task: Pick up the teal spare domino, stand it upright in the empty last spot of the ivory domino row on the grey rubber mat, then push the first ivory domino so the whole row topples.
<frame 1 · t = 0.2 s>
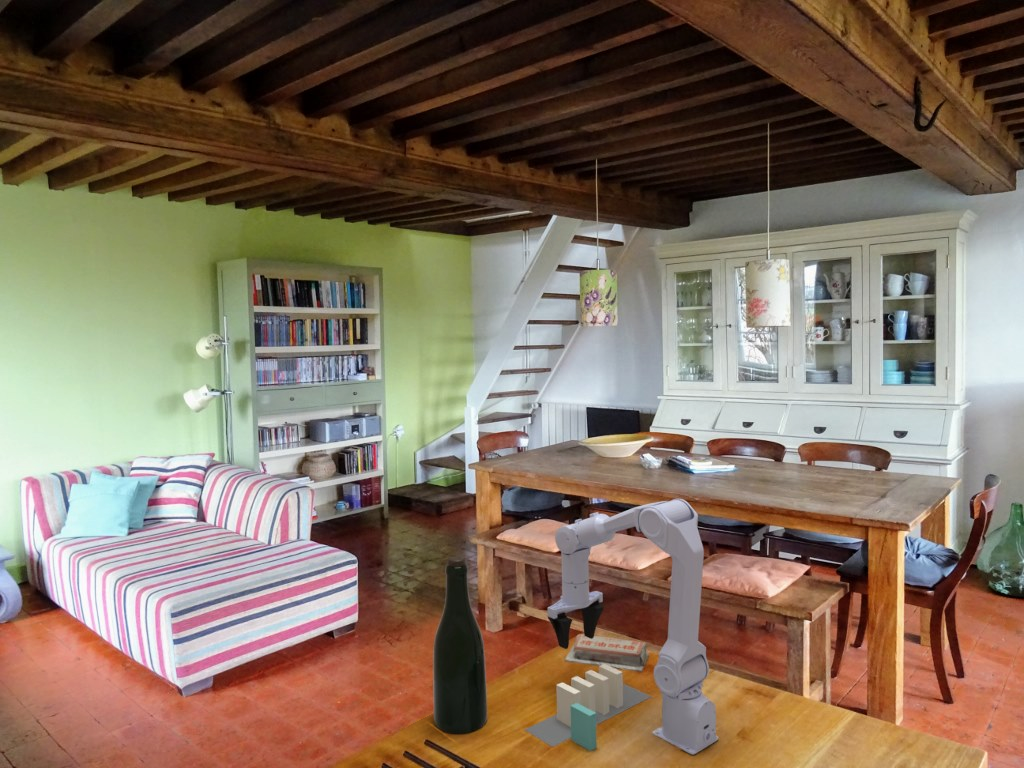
hand: (576, 642, 159), 10 cm above the table, tool pointing down, fingers open, 7 cm apart
spare domino: (583, 745, 137), on the table
domino 4: (568, 723, 144), resting on mat
domino 2: (597, 708, 149), resting on mat
mat: (590, 714, 148), on the table
packaged product: (607, 661, 173), on the table
beer bottle: (460, 723, 146), on the table
domino 3: (583, 715, 147), resting on mat
domino 1: (611, 702, 152), resting on mat
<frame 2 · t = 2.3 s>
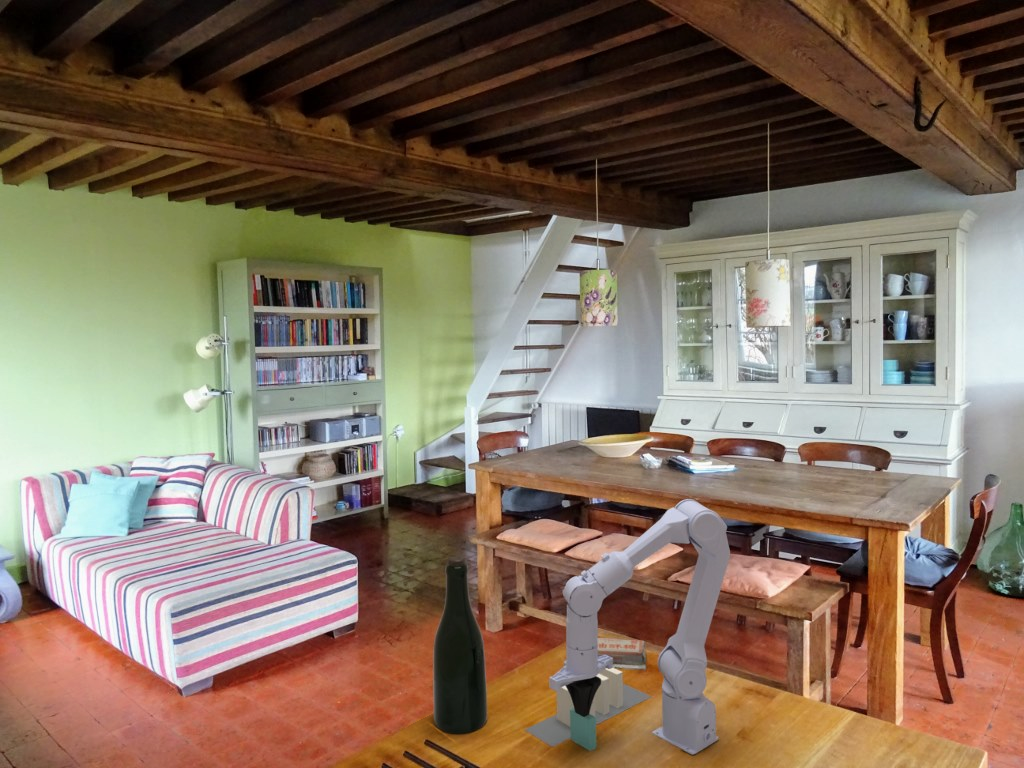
hand: (582, 716, 136), 6 cm above the table, tool pointing down, fingers closed, pressing on spare domino
spare domino: (583, 749, 137), on the table, touching gripper
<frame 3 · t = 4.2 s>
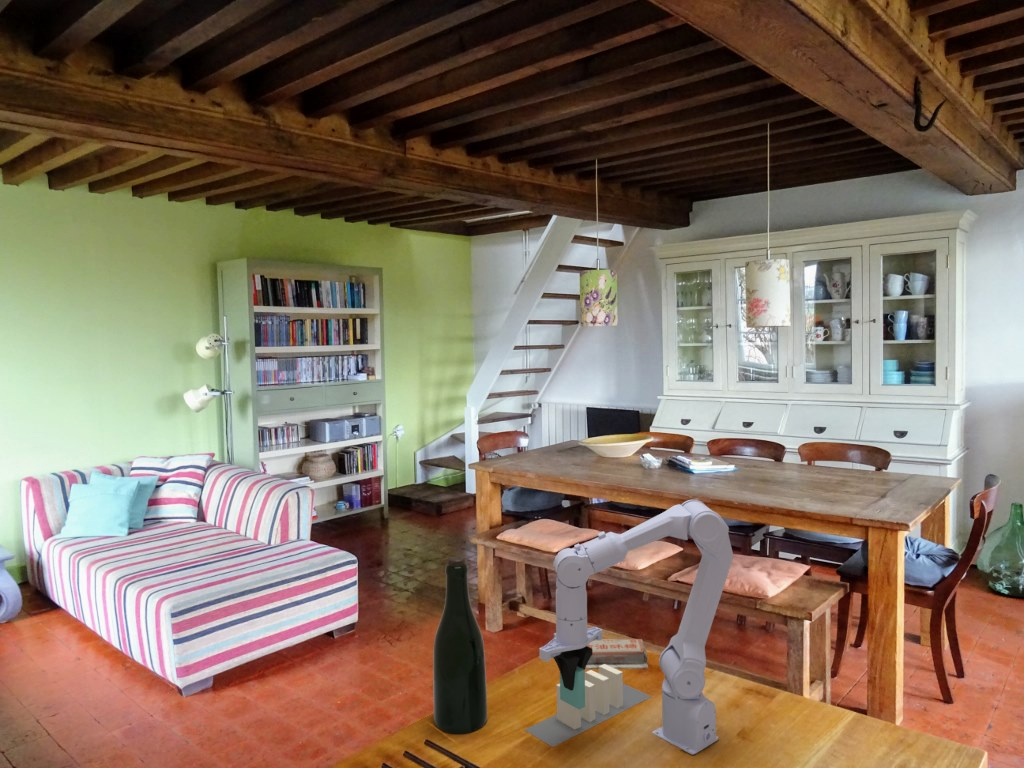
hand: (572, 686, 138), 10 cm above the table, tool pointing down, fingers closed on spare domino
spare domino: (572, 702, 138), point 7 cm above the table, touching gripper
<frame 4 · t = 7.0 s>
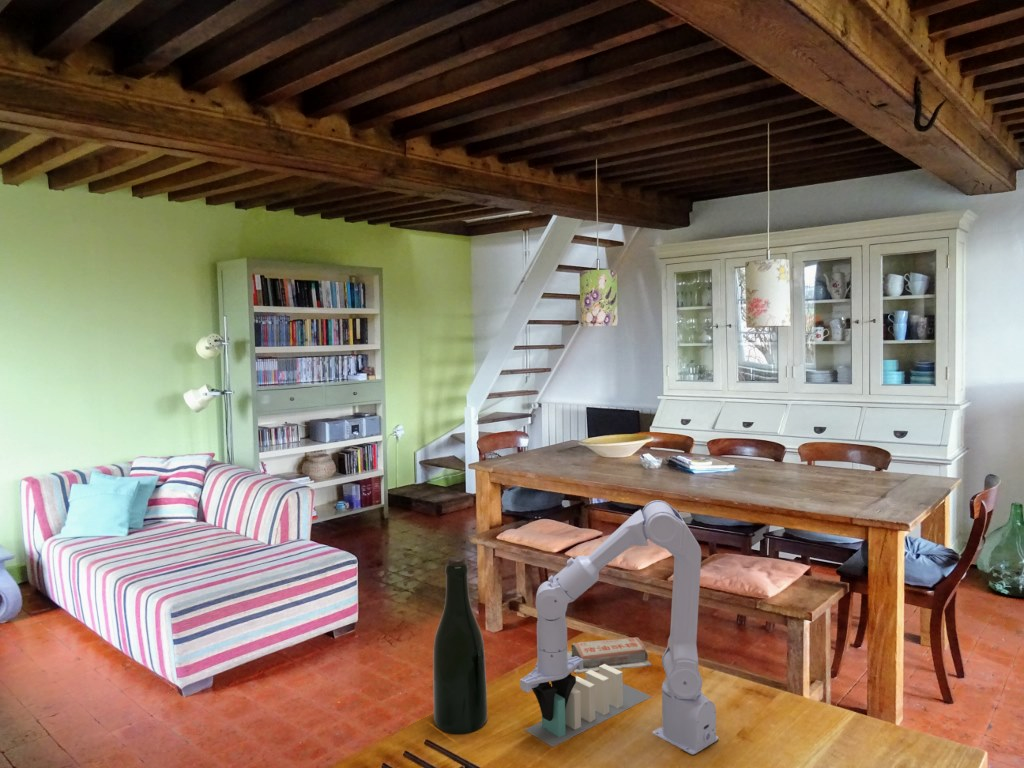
hand: (553, 715, 141), 3 cm above the table, tool pointing down, fingers open, 3 cm apart
spare domino: (553, 730, 142), resting on mat
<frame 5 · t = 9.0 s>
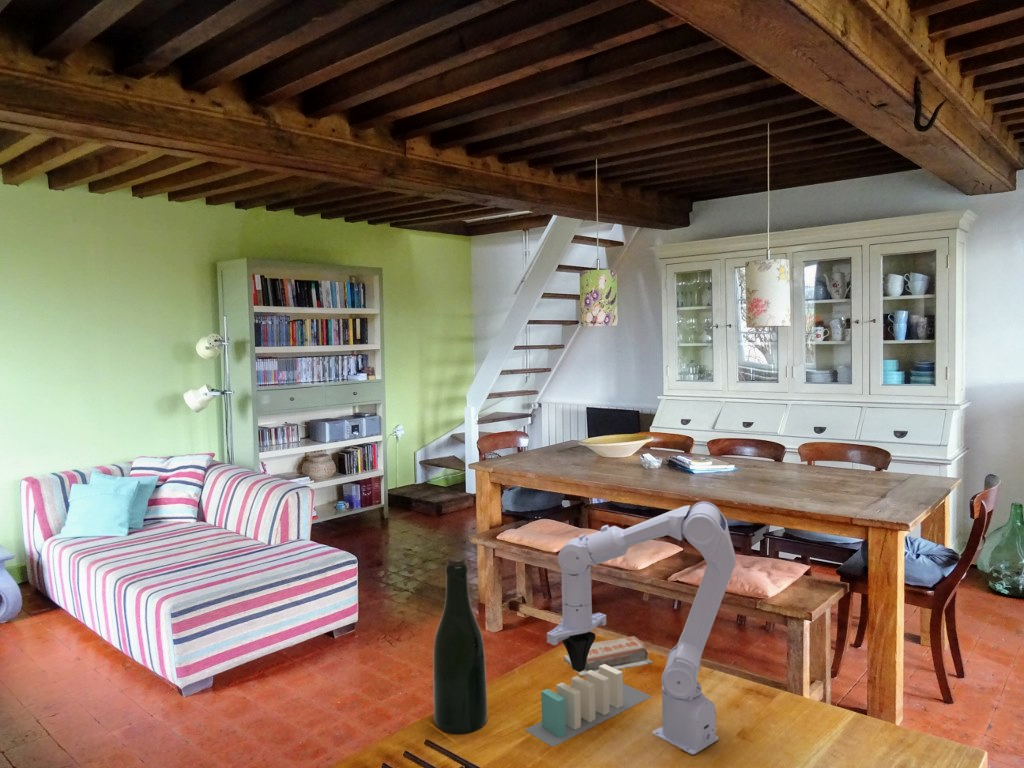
hand: (578, 669, 145), 10 cm above the table, tool pointing down, fingers closed
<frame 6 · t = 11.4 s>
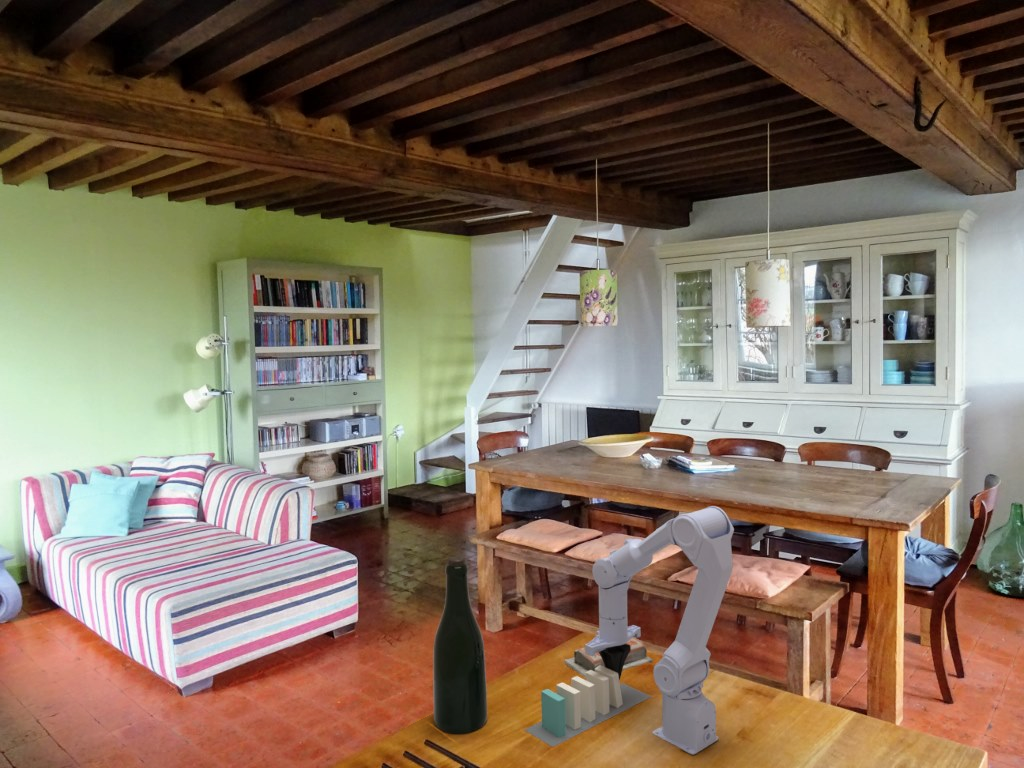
hand: (614, 679, 152), 5 cm above the table, tool pointing down, fingers closed
domino 1: (611, 701, 152), point 1 cm above the table, tilted 11°, touching mat
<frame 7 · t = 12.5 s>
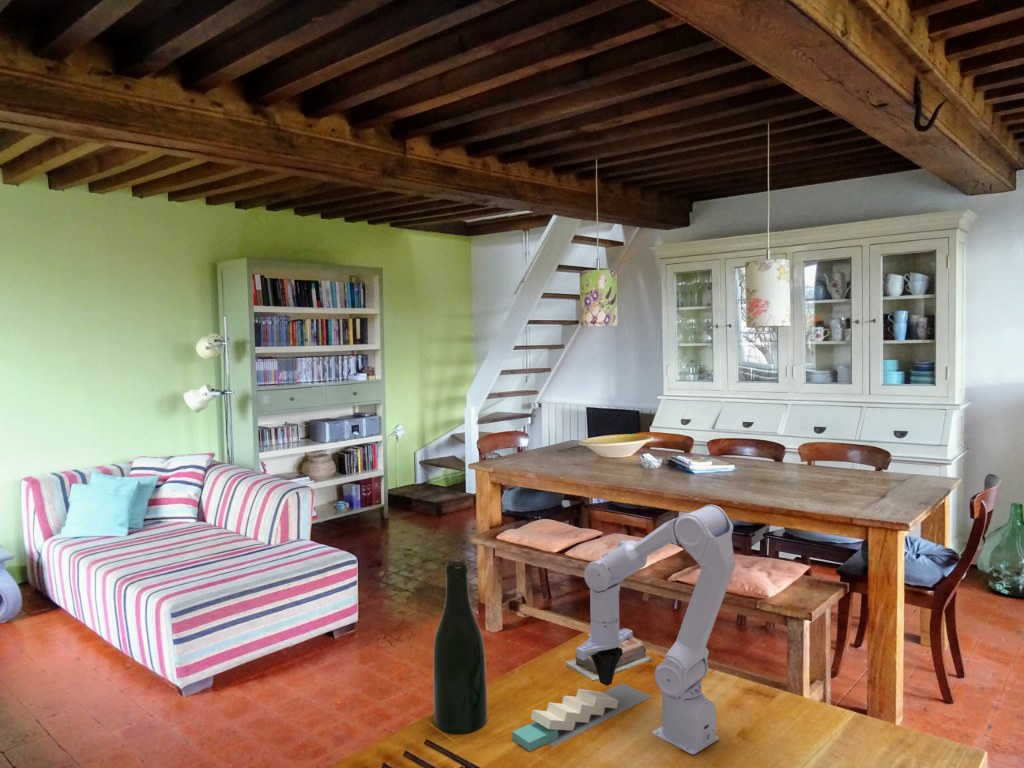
hand: (605, 683, 151), 5 cm above the table, tool pointing down, fingers closed
spare domino: (549, 728, 141), point 1 cm above the table, tilted 90°, touching domino 4, mat
domino 4: (565, 721, 143), point 1 cm above the table, tilted 67°, touching domino 3, mat, spare domino
domino 2: (594, 706, 149), point 1 cm above the table, tilted 67°, touching domino 1, domino 3, mat
domino 3: (580, 713, 146), point 1 cm above the table, tilted 67°, touching domino 2, domino 4, mat
domino 1: (608, 700, 151), point 1 cm above the table, tilted 66°, touching domino 2, mat
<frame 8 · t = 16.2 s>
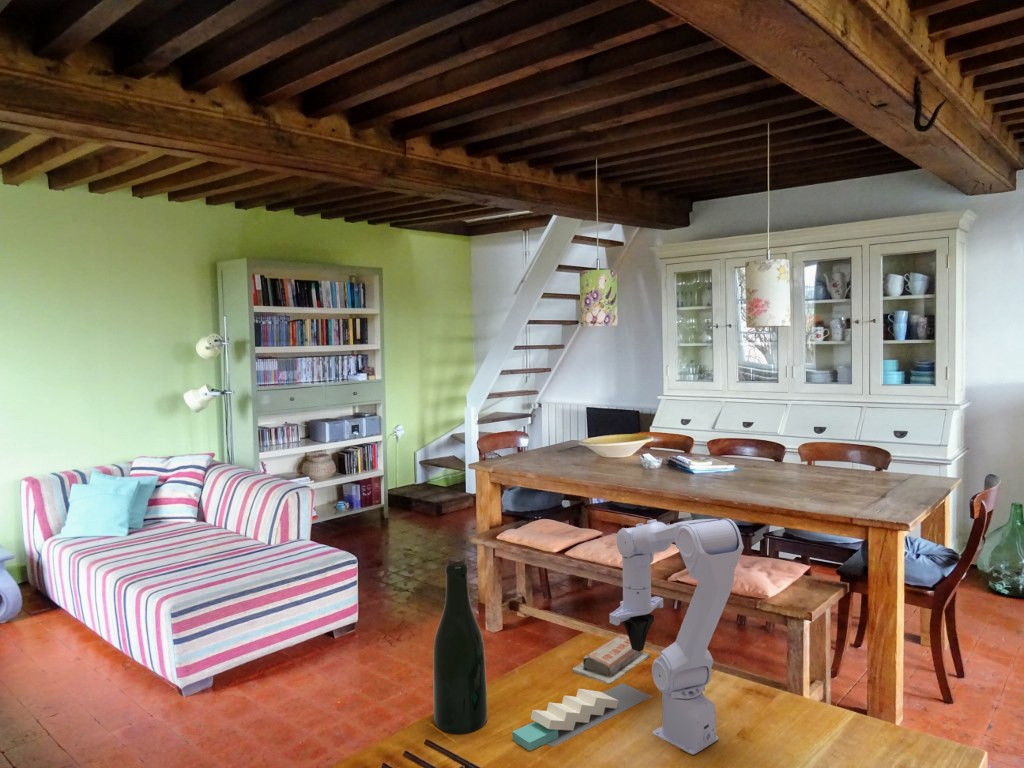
hand: (637, 649, 153), 10 cm above the table, tool pointing down, fingers closed
at the end: spare domino 0.5 cm from the target spot, point 1.2 cm above the table; spare domino tilted 90°; domino 1 tilted 66° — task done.
